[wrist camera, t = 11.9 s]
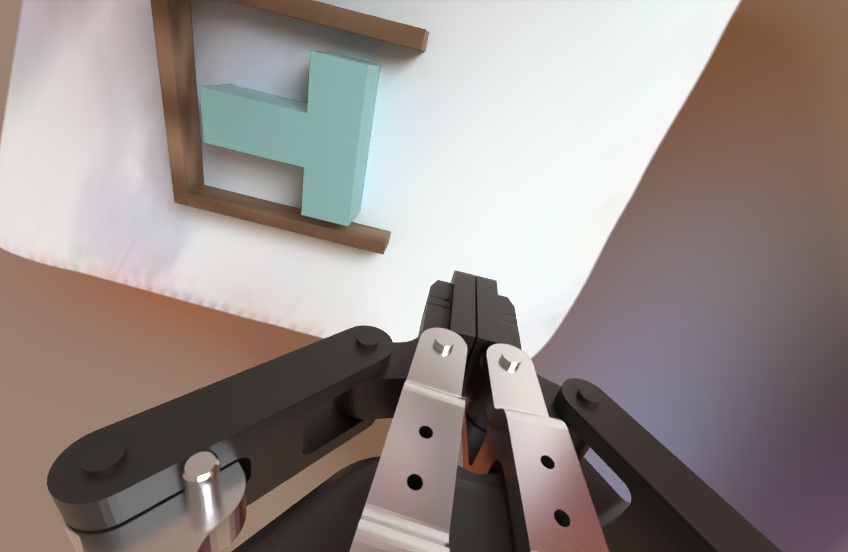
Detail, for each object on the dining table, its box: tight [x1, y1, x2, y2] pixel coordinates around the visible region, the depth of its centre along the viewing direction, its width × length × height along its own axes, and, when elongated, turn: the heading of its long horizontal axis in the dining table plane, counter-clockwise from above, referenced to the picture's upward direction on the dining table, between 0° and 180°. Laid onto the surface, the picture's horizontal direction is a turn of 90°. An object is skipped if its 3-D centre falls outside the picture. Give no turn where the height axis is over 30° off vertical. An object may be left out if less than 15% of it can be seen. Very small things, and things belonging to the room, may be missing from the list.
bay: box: [151, 0, 429, 254], centre depth 31 cm, size 17×19×2 cm
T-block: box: [199, 51, 380, 226], centre depth 30 cm, size 12×12×4 cm
